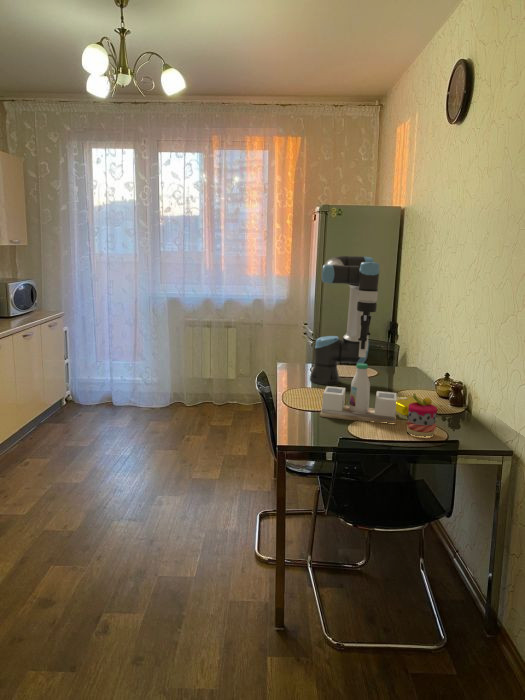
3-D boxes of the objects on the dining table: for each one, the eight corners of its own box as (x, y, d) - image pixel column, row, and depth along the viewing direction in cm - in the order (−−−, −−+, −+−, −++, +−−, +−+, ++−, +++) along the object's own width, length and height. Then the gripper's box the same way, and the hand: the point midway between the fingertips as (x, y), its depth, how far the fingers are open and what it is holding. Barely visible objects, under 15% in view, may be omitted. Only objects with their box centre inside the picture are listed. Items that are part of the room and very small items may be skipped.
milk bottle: (368, 410, 222) (372, 363, 218) (367, 415, 214) (371, 366, 211) (350, 407, 224) (353, 361, 220) (348, 412, 216) (351, 364, 213)
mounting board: (324, 406, 230) (325, 400, 229) (395, 414, 223) (396, 407, 222) (319, 416, 215) (320, 410, 215) (395, 424, 208) (396, 418, 208)
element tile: (404, 416, 221) (405, 405, 220) (385, 406, 235) (386, 396, 234) (435, 414, 225) (436, 404, 225) (415, 404, 239) (416, 394, 239)
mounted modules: (325, 404, 228) (326, 385, 226) (394, 411, 221) (396, 392, 220) (321, 412, 216) (323, 392, 215) (394, 420, 210) (396, 400, 208)
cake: (429, 429, 205) (433, 392, 202) (439, 439, 194) (443, 399, 191) (402, 428, 204) (405, 391, 201) (410, 438, 194) (414, 399, 191)
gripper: (359, 298, 223) (356, 347, 227) (355, 303, 199) (351, 359, 203) (377, 299, 221) (373, 349, 225) (375, 305, 198) (371, 360, 202)
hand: (363, 353), depth 214 cm, fingers open, 13 cm apart
